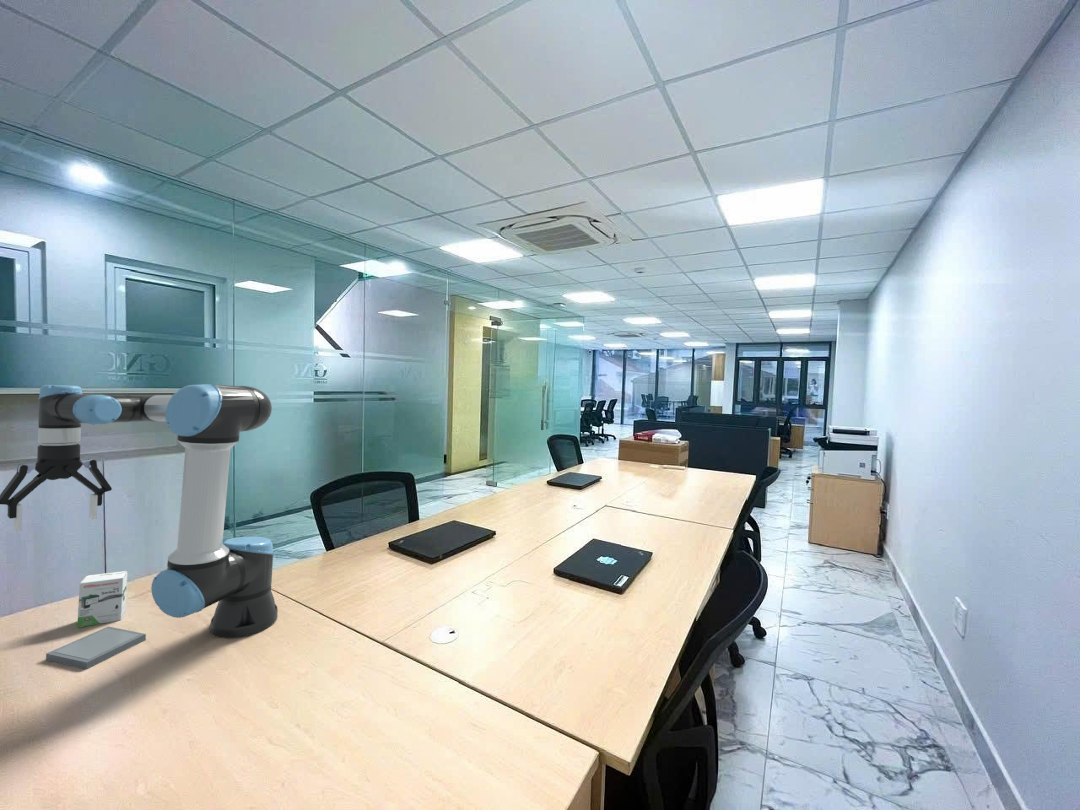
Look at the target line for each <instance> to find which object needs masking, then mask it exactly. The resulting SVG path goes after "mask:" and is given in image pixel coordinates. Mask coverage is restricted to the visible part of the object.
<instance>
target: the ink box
mask: <svg viewBox="0 0 1080 810" xmlns="http://www.w3.org/2000/svg"><path fill="white" fill-rule="evenodd" d="M127 587H128V571H127V570H123V571H115V572H106V573H98V574H89V575H86V576H84V577H83V579H82V580H81V581H80V583H79V589H78V590H79V593H78V609H77V610H78V611H77V626H76V627H77V628H83V627H89V626H95V625H102V624H105V623H112V622H118V621H121V620H122V619H123V618H124V616H125V614H126V609H127V604H126V603H127V591H128V590H127V589H128V588H127Z"/></svg>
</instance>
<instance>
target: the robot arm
mask: <svg viewBox="0 0 1080 810" xmlns="http://www.w3.org/2000/svg"><path fill="white" fill-rule="evenodd" d="M39 388H40V389H39V396H38V398H37V401H38V410H37V411H38V415H37V416H38V418H37V419H38V430H37V431H38V434H37V443H38V444H39V445H38V446H37V454H36V455H37V456H36V458H37V459H36V460H37V461H36V463H35V464H24V463H20V464H18V465H17V468H16V473H15V474H14V476H13V477H12V478H11V480H10V481H9V483H7V485H6V486H5V487H4V488H3V490H2V491H1V493H0V505H5V506H7V515H6V516H7V517H8V518H9V519H13V531H15V532H17V533H18V532H22V527H23V525H22V524H23V522H22V521H23V519H22V517H23V504H21V503H20V502H21V501H22V500H24V499H25V498H26V497H27V496H28V495H30V494H31V493H32V492H33V491H34V490H35V489H36V488H37V487H39V486H40V485H41V484H43V483H44V482H45V481H47V480H50V481H54V480H55V481H56V480H64V479H65V480H67V479H70V478H74V479H75V480H77V482H80V484H82V485H83V486H85V487H86V488H87V489H89V490H90V491H91V492H92V493H91V494H89V516H88V517H89V518H90V519H92V520H96V519H98V507H99V506H102V504H103V495H104V494H105V493H106V492H111V491H112V490H113V488H112V486H111V485H110V484H109V482H108V480H107V479H106V478H105V476H104V475H103V474H102V472H101V470H100V469H99V468H98V463H97V460H96V459H93V458H90V459H89V458H88V459H87V460H81V444H79V443H80V442H81V439H82V438H81V437H82V436H81V435H82V434H81V432H82V431H81V430H82V424H88V425H107V424H111V423H112V424H113V423H114V424H115V423H129V422H131V423H132V422H134V423H135V422H166V424H168V428H169V430H170V431H171V433H173V434H175V435H177V442H178V443H179V444H180V445H181V446H182V447H184V462H183V473H182V486H181V497H180V509H179V512H180V513H179V520H178V521H179V522H178V531H177V532H178V535H177V547H176V549H175V550H173V552H171V553H170V554H168V557H167V563H166V569H164V570H161V571H160V572H159V573H158V574H156V575H155V577H154V578H153V580H152V583H151V587H150V588H151V590H150V591H151V596H152V598H153V601H154V603H155V604H156V606H157V607H158V609H159V610H161V612H162V613H164V614H166V615H167V616H169V617H171V618H177V619H178V618H179V619H180V618H186V617H188V616H190V615H192V614H195V613H199V612H201V611H203V610H204V609H206V608H208V607H209V606H212V605H214V604H216V603H217V605H216V607H215V611H214V614H213V616H212V618H211V620H210V623H209V624H210V625H209V626H210V627H209V633H210V634H211V635H212V636H213V637H216V638H220V639H237V638H242V637H247V636H251V635H255V634H257V633H260V632H261V631H264V630H265V629H268V628H270V627H271V626H272V625H273V624H274V623H275V622H276V621H277V620H278V616H279V615H278V613H279V612H278V611H279V610H278V606H277V604H276V602H275V598H274V595H273V592H272V581H273V564H274V563H273V560H274V549H273V548H274V547H273V545H274V544H273V541H272V540H271V539H270V538H266V537H262V536H261V537H260V536H241V537H240V536H238V537H237V536H236V537H231V538H228V539H225V540H224V532H225V531H224V530H225V529H224V528H225V519H226V518H225V517H226V509H227V508H226V506H227V495H228V483H229V472H230V460H231V450H232V448H233V447H234V446H235V445H238V443H239V441H240V434H241V432H247V431H253V430H256V429H259V428H260V427H262V426H264V424H266V422H268V420H269V419H270V417H271V414H272V409H273V407H272V402H271V399H270V398H269V397H268V395H267V394H266V393H265V392H263V391H262V390H260V389H259V388H256V387H252V386H248V385H247V386H246V385H227V384H223V385H222V384H210V383H207V384H206V383H202V384H190V385H185V386H183V387H181V388H179V389H178V390H177V392H175V393H173V394H145V395H144V394H129V395H128V394H96V393H95V394H91V393H89V394H87V393H83V389H82V387H80V386H79V385H64V384H63V385H62V384H61V385H60V384H45V385H42V386H41V387H39ZM82 466H84V468H86V469H88V470H89V471H90V473H91V474H92V476H93V477H94V479H95V480H96V481H97V483H98V484H99V486H100V487H98V486H97V485H96V484H94V483H93V482H92V481H90V480H89V479H87V477H85V476H84V475H83V474H82V473H80V472H78V471H79V470H80V469H81V468H82ZM33 470H35V471H36V472H37V475H35V476H34V477H33V478H32V479H31V480H30V481H29V482H28V483H27V484H26V485H24V486H23V487H22V488H21V489H20V490H19V491H18V492H16V493H15V491H16V490H17V489H18V487H19V486H20V484H21V483H22V482H23V481H24V479H25V478H26V476H27V475H28V474H30V473H31V472H32V471H33ZM14 493H15V494H14ZM13 494H14V495H13ZM11 496H12V497H11Z"/></svg>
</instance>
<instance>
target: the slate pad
mask: <svg viewBox="0 0 1080 810" xmlns="http://www.w3.org/2000/svg"><path fill="white" fill-rule="evenodd" d="M146 640H147V633H142V632H138V631H132V630H128V629H123V628H118V627H113V626H107V627H106V626H105V627H104V628H102V629H99V630H97V631H94V632H92V633H90V634H88V635H86V636H84V637H81V638H78V639H76V640H74V641H72V642H70V643H67V644H65V645H63V646H61V647H57V648H56V649H53V650H51V651H48V652H46V654H45V660H46V661H48V662H53V663H57V664H62V665H66V666H71V667H75V668H81V669H85V670H89V669H90V668H92V667H95V666H96V665H98V664H100V663H102V662H104V661H106V660H108V659H110V658H112V657H114V656H116V655H118V654H120V653H122V652H124V651H126V650H128V649H130V648H132V647H134V646H137V645H138V644H140V643H142V642H144V641H146Z"/></svg>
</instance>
